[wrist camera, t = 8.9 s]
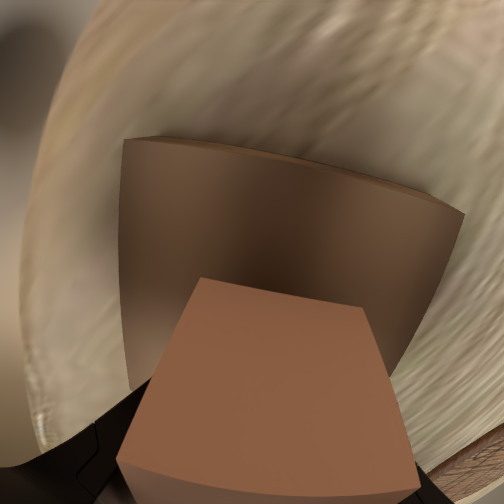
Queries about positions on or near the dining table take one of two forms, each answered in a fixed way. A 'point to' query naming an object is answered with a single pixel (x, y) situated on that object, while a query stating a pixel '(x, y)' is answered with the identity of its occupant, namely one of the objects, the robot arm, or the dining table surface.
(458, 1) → the dining table surface
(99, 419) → the robot arm
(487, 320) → the dining table surface
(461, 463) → the trivet
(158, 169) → the walnut base
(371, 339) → the terracotta block
